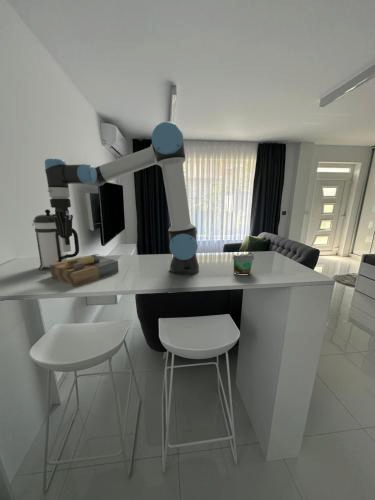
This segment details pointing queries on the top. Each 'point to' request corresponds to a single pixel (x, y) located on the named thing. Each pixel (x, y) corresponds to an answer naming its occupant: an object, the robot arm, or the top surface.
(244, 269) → the food container
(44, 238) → the coffee press
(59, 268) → the slotted wooden block
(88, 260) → the lock bar
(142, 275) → the top surface
